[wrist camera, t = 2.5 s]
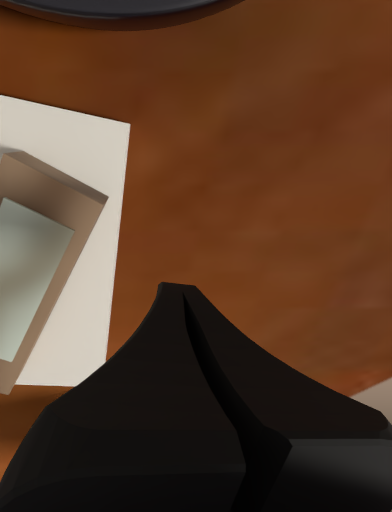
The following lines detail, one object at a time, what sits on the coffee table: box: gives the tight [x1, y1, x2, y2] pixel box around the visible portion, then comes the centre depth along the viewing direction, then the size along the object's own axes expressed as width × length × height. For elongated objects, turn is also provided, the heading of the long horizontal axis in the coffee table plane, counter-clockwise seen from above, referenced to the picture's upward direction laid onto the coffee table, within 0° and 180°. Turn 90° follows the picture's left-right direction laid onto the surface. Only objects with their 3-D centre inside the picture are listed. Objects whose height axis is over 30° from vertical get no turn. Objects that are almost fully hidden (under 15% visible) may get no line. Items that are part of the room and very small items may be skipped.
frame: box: [0, 151, 109, 395], centre depth 17 cm, size 5×15×3 cm, turn 148°
